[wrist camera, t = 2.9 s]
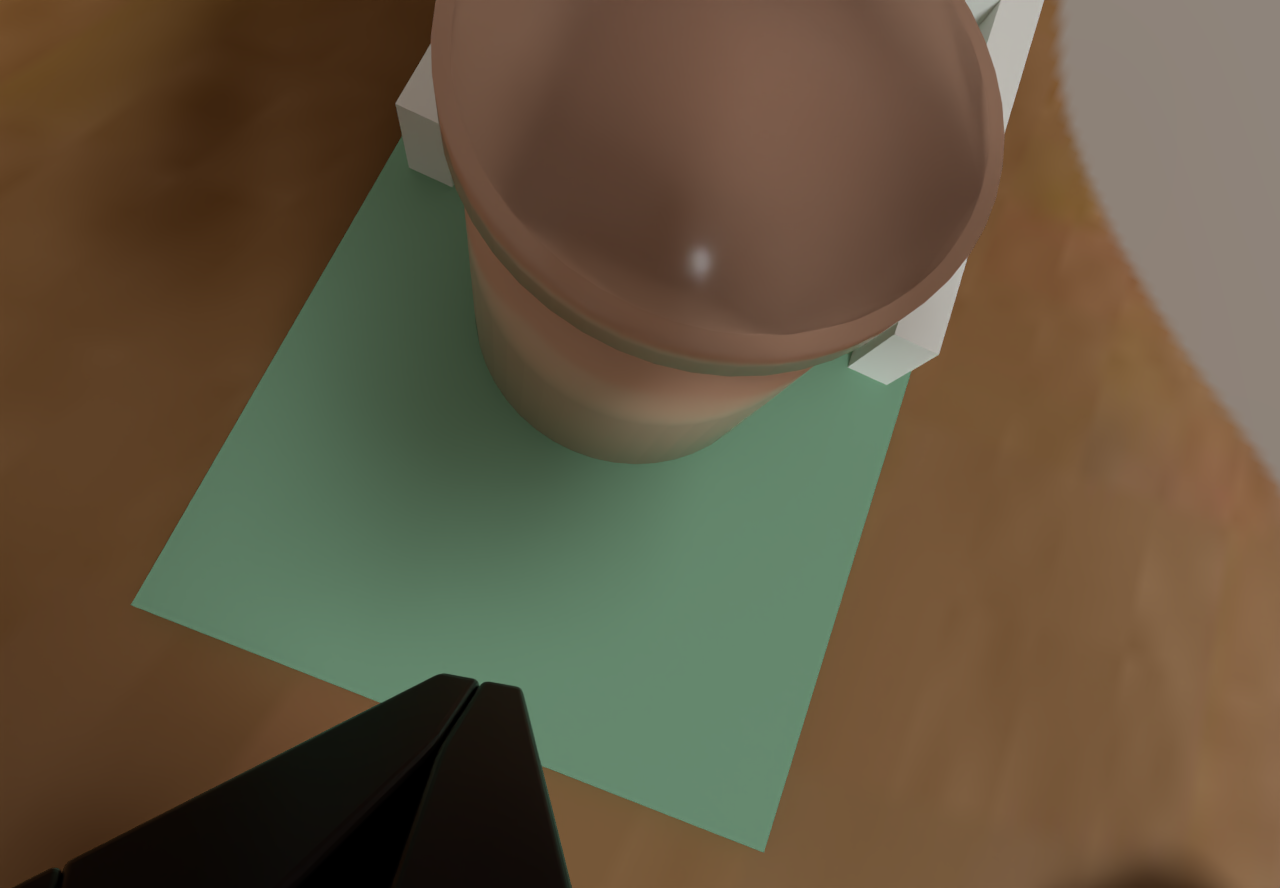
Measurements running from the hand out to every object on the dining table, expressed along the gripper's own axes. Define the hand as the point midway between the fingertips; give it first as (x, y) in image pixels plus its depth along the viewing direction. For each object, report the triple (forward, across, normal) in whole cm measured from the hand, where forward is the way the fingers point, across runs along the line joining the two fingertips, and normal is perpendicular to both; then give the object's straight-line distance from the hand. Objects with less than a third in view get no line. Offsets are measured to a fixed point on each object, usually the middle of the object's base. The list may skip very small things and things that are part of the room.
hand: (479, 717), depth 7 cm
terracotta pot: (+13, 0, +2) cm, 13 cm away
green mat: (+15, +1, +2) cm, 15 cm away
